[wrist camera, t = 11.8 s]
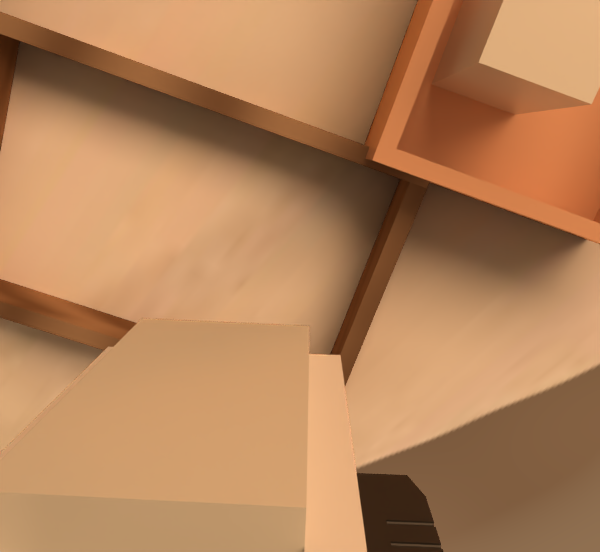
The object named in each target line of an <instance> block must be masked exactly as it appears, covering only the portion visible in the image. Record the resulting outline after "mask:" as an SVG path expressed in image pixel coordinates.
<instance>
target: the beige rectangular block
mask: <svg viewBox="0 0 600 552" xmlns="http://www.w3.org/2000/svg"><path fill="white" fill-rule="evenodd" d="M309 332H310V326H303V325H281V324H259V323H236V322H214V321H191V320H169V319H147V318H142V319H141V320H140V321H139V322H138V323H137V324H136V325H135V326H134V327H133V328H132V329H131V330H130V331H129V332H128V333H127V334H126V335H125V336H124V337H123V338H122V339H121V340H120V341H119V342H118V343H117V344H116V345H115V346H114V347H113V348H112V349H111V350H110V351H109V352H108V353H107V354H106V355H105V356H104V357H103V358H102V359H101V360H100V361H99V362H98V363H97V364H96V365H95V366H94V367H93V368H92V369H91V370H90V371H89V372H88V373H87V374H86V375H85V376H84V377H83V378H82V379H81V380H80V381H79V382H78V383H77V384H76V385H75V386H74V387H73V388H72V389H71V390H70V391H69V392H68V393H67V394H66V395H65V396H64V397H63V398H62V399H61V400H60V401H59V402H58V403H57V404H56V405H55V406H54V407H53V408H52V409H51V410H50V411H49V412H48V413H47V414H46V415H45V416H44V417H43V418H42V419H41V420H40V421H39V422H38V423H37V424H36V425H35V426H34V427H33V428H32V429H31V430H30V431H29V432H28V433H27V434H26V435H25V436H24V437H23V438H22V439H21V440H20V441H19V442H18V443H17V444H16V445H15V446H14V447H13V448H12V449H11V450H10V451H9V452H8V453H7V454H6V455H5V456H4V457H3V458H2V459H1V460H0V552H304V546H305V525H306V500H307V444H308V388H309Z"/></svg>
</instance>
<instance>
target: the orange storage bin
mask: <svg viewBox="0 0 600 552" xmlns="http://www.w3.org/2000/svg"><path fill="white" fill-rule="evenodd" d="M462 3H463V0H418V2H417V4H416V7H415V10H414V12H413V15H412V18H411V20H410V23H409V26H408V28H407V31H406V34H405V36H404V39H403V42H402V45H401V47H400V50H399V53H398V55H397V58H396V61H395V63H394V66H393V69H392V71H391V74H390V77H389V80H388V82H387V85H386V88H385V90H384V93H383V96H382V98H381V101H380V104H379V106H378V109H377V112H376V114H375V117H374V120H373V123H372V125H371V128H370V131H369V133H368V136H367V139H366V141H365V144H364V145H366V146H368V147H369V150H368V152H367V155H366V159H368V160H371V161H374V162H377V163H379V164H382V165H385V166H388V167H390V168H393V169H396V170H399V171H401V172H404V173H407V174H410V175H412V176H415V177H418V178H421V179H423V180H426V181H429V182H430V183H433V184H436V185H438V186H441V187H444V188H447V189H449V190H452V191H455V192H458V193H460V194H463V195H466V196H469V197H471V198H474V199H477V200H480V201H482V202H485V203H488V204H491V205H493V206H496V207H499V208H502V209H504V210H507V211H510V212H513V213H515V214H518V215H521V216H524V217H526V218H529V219H532V220H535V221H537V222H540V223H543V224H546V225H548V226H551V227H554V228H557V229H559V230H562V231H565V232H568V233H570V234H573V235H576V236H579V237H581V238H584V239H587V240H590V241H593V242H595V243H598V244H600V87H599V90H598V92H597V94H596V96H595V98H594V100H593V102H592V104H590V105H583V106H575V107H568V108H560V109H553V110H545V111H538V112H531V113H523V114H516V115H515V114H512V113H509V112H506V111H504V110H501V109H498V108H495V107H493V106H490V105H487V104H484V103H482V102H479V101H476V100H473V99H471V98H468V97H465V96H462V95H460V94H457V93H454V92H451V91H449V90H446V89H443V88H440V87H438V86H435V85H432V82H433V79H434V76H435V74H436V71H437V68H438V66H439V63H440V61H441V58H442V55H443V53H444V50H445V47H446V45H447V42H448V40H449V37H450V34H451V32H452V29H453V26H454V24H455V21H456V18H457V16H458V13H459V11H460V8H461V5H462Z"/></svg>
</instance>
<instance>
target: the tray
mask: <svg viewBox="0 0 600 552" xmlns="http://www.w3.org/2000/svg"><path fill="white" fill-rule="evenodd" d="M20 41H22V42H25V43H27V44H30V45H33V46H36V47H38V48H41V49H44V50H47V51H49V52H52V53H55V54H58V55H60V56H63V57H66V58H69V59H71V60H74V61H77V62H80V63H82V64H85V65H88V66H91V67H94V68H96V69H99V70H102V71H105V72H107V73H110V74H113V75H116V76H118V77H121V78H124V79H127V80H129V81H132V82H135V83H138V84H140V85H143V86H146V87H149V88H151V89H154V90H157V91H160V92H162V93H165V94H168V95H171V96H173V97H176V98H179V99H182V100H185V101H187V102H190V103H193V104H196V105H198V106H201V107H204V108H207V109H209V110H212V111H215V112H218V113H220V114H223V115H226V116H229V117H231V118H234V119H237V120H240V121H242V122H245V123H248V124H251V125H253V126H256V127H259V128H262V129H265V130H267V131H270V132H273V133H276V134H278V135H281V136H284V137H287V138H289V139H292V140H295V141H298V142H300V143H303V144H306V145H309V146H311V147H314V148H317V149H320V150H322V151H325V152H328V153H331V154H333V155H336V156H339V157H342V158H344V159H347V160H350V161H353V162H356V163H358V164H361V165H364V166H367V167H369V168H372V169H375V170H378V171H380V172H383V173H386V174H389V175H391V176H394V177H397V178H400V181H399V184H398V186H397V189H396V191H395V194H394V196H393V199H392V201H391V204H390V206H389V209H388V211H387V214H386V216H385V219H384V221H383V224H382V226H381V229H380V231H379V234H378V236H377V239H376V241H375V244H374V246H373V249H372V251H371V254H370V256H369V259H368V261H367V264H366V266H365V269H364V271H363V274H362V276H361V279H360V282H359V284H358V287H357V289H356V292H355V294H354V297H353V299H352V302H351V304H350V307H349V309H348V312H347V314H346V317H345V319H344V322H343V324H342V327H341V329H340V332H339V334H338V337H337V339H336V342H335V344H334V347H333V349H332V352H331V354H330V355H341V362H342V370H343V377H344V385H346V383H347V380H348V378H349V375H350V373H351V371H352V368H353V366H354V363H355V361H356V358H357V356H358V354H359V351H360V349H361V346H362V344H363V342H364V339H365V337H366V334H367V332H368V330H369V327H370V325H371V322H372V320H373V318H374V315H375V313H376V310H377V308H378V305H379V303H380V301H381V298H382V296H383V293H384V291H385V289H386V286H387V284H388V281H389V279H390V277H391V274H392V272H393V269H394V267H395V265H396V262H397V260H398V257H399V255H400V252H401V250H402V248H403V245H404V243H405V240H406V238H407V236H408V233H409V231H410V228H411V226H412V224H413V221H414V219H415V216H416V214H417V212H418V209H419V207H420V204H421V202H422V200H423V197H424V195H425V192H426V190H427V187H428V185H429V183H430V182H429V181H426V180H423V179H421V178H418V177H415V176H412V175H410V174H407V173H404V172H401V171H399V170H396V169H393V168H390V167H388V166H385V165H382V164H379V163H377V162H374V161H371V160H368V159H366V155H367V152H368V150H369V147H368V146H366V145H363V144H360V143H357V142H355V141H352V140H349V139H346V138H344V137H341V136H338V135H336V134H333V133H330V132H327V131H325V130H322V129H319V128H316V127H314V126H311V125H308V124H305V123H303V122H300V121H297V120H295V119H292V118H289V117H286V116H284V115H281V114H278V113H275V112H273V111H270V110H267V109H264V108H262V107H259V106H256V105H254V104H251V103H248V102H245V101H243V100H240V99H237V98H234V97H232V96H229V95H226V94H224V93H221V92H218V91H215V90H213V89H210V88H207V87H204V86H202V85H199V84H196V83H193V82H191V81H188V80H185V79H183V78H180V77H177V76H174V75H172V74H169V73H166V72H163V71H161V70H158V69H155V68H153V67H150V66H147V65H144V64H142V63H139V62H136V61H133V60H131V59H128V58H125V57H122V56H120V55H117V54H114V53H112V52H109V51H106V50H103V49H101V48H98V47H95V46H92V45H90V44H87V43H84V42H81V41H79V40H76V39H73V38H71V37H68V36H65V35H62V34H60V33H57V32H54V31H51V30H49V29H46V28H43V27H41V26H38V25H35V24H32V23H30V22H27V21H24V20H21V19H19V18H16V17H13V16H10V15H8V14H5V13H2V12H0V149H1V143H2V138H3V132H4V126H5V121H6V115H7V109H8V104H9V98H10V92H11V87H12V81H13V75H14V70H15V64H16V59H17V53H18V47H19V42H20ZM0 317H1V318H4V319H7V320H10V321H13V322H17V323H20V324H23V325H26V326H29V327H32V328H36V329H39V330H42V331H45V332H48V333H51V334H54V335H58V336H61V337H64V338H67V339H70V340H73V341H77V342H80V343H83V344H86V345H89V346H92V347H95V348H99V349H102V350H105V349H106V348H107V347H114V346H115V345H116V344H117V343H118V342H119V341H120V340H121V339H122V338H123V337H124V336H125V335H126V334H127V333H128V332H129V331H130V330H131V329H132V328H133V327H134V326H135V325H136V324H137V323H134V322H131V321H128V320H125V319H122V318H119V317H116V316H113V315H109V314H106V313H103V312H100V311H97V310H94V309H91V308H88V307H85V306H82V305H78V304H75V303H72V302H69V301H66V300H63V299H60V298H57V297H54V296H51V295H47V294H44V293H41V292H38V291H35V290H32V289H29V288H26V287H23V286H20V285H17V284H13V283H10V282H7V281H4V280H1V279H0Z"/></svg>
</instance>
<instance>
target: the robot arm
mask: <svg viewBox="0 0 600 552" xmlns="http://www.w3.org/2000/svg"><path fill="white" fill-rule="evenodd" d="M112 348H113V347H107V348H106V349H105V350H104V351H103V352H102V353H101V354H100V355H99V356H98V357H97V358H96V359H95V360H94V361H93V362H92V363H91V364H90V365H89V366H88V367H87V368H86V369H85V370H84V371H83V372H82V373H81V374H80V375H79V376H78V377H77V378H76V379H75V380H74V381H73V382H72V383H71V384H70V385H69V386H68V387H67V388H66V389H65V390H64V391H63V392H62V393H61V394H60V395H59V396H58V397H57V398H56V399H55V400H53V401H52V402H51V403H50V404H49V405H48V406H47V407H46V408H45V409H44V410H43V411H42V412H41V413H40V414H39V415H38V416H37V417H36V418H35V419H34V420H33V421H32V422H31V423H30V424H29V425H28V426H27V427H26V428H25V429H24V430H23V431H22V432H21V433H20V434H19V435H18V436H17V437H16V438H15V439H14V440H13V441H12V442H11V443H10V444H9V445H8V446H7V447H6V448H5V449H4V450H3V451H2V452H1V453H0V460H1V459H2V458H3V457H4V456H5V455H6V454H7V453H8V452H9V451H10V450H11V449H12V448H13V447H14V446H15V445H16V444H17V443H18V442H19V441H20V440H21V439H22V438H23V437H24V436H25V435H26V434H27V433H28V432H29V431H30V430H31V429H32V428H33V427H34V426H35V425H36V424H37V423H38V422H39V421H40V420H41V419H42V418H43V417H44V416H45V415H46V414H47V413H48V412H49V411H50V410H51V409H52V408H53V407H54V406H55V405H56V404H57V403H58V402H59V401H60V400H61V399H62V398H63V397H64V396H65V395H66V394H67V393H68V392H69V391H70V390H71V389H72V388H73V387H74V386H75V385H76V384H77V383H78V382H79V381H80V380H81V379H82V378H83V377H84V376H85V375H86V374H87V373H88V372H89V371H90V370H91V369H92V368H93V367H94V366H95V365H96V364H97V363H98V362H99V361H100V360H101V359H102V358H103V357H104V356H105V355H106V354H107V353H108V352H109V351H110V350H111V349H112ZM304 552H443V549H441V543H440V540H439V536H438V534H437V530H436V527H434V521H433V518H432V515H431V512H430V509H429V506H428V503H427V499H426V496H425V495H424V494H423V493H422V492H421V491H420V490H419V488H418V487H417V486H416V485H415V484H414V483H413V482H412V481H411V479H410V478H409V477H408V476H407V475H387V474H363V473H361V474H360V473H356V466H355V458H354V451H353V444H352V436H351V429H350V421H349V414H348V407H347V399H346V392H345V385H344V377H343V370H342V362H341V355H325V354H309V388H308V444H307V500H306V525H305V546H304Z"/></svg>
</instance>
